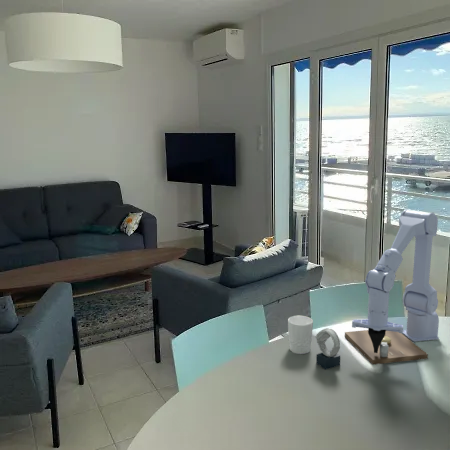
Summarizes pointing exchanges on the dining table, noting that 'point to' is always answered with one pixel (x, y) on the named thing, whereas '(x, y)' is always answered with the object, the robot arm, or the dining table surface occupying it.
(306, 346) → the white cup
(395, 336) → the brown wooden board
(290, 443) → the dining table surface
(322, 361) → the watch
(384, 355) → the lever
